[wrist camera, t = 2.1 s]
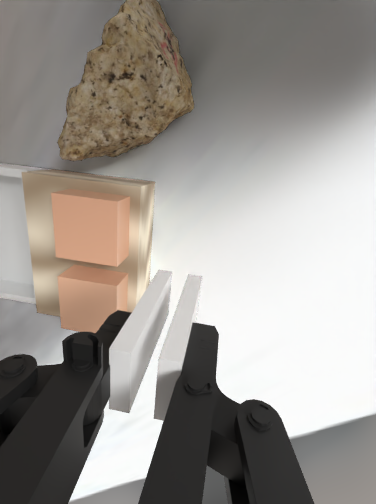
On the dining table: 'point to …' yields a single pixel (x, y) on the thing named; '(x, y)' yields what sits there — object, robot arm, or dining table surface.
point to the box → (15, 236)
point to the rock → (127, 86)
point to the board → (50, 266)
